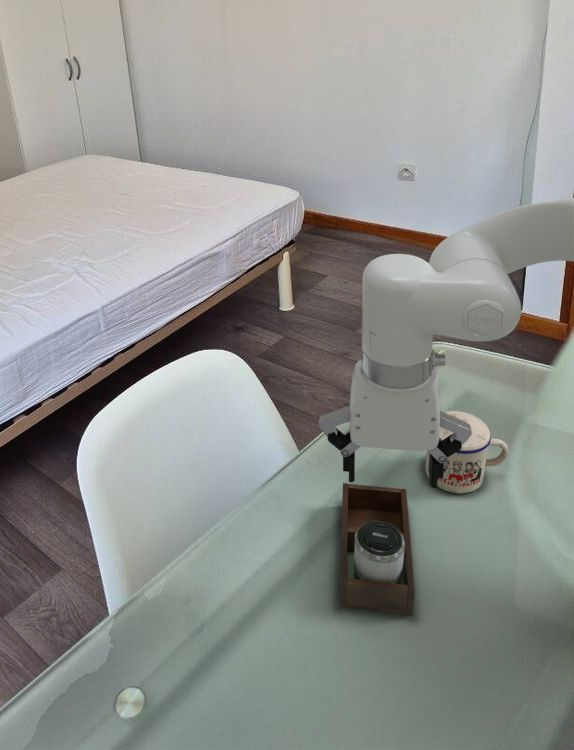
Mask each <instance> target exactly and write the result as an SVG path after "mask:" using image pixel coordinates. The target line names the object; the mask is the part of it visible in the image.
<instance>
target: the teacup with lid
mask: <svg viewBox="0 0 574 750" xmlns="http://www.w3.org/2000/svg"><path fill="white" fill-rule="evenodd" d="M443 412H444V413H446V414H448V415H451V416H453V417H455V418H457V419H459V420H461V421H464V422H466V423H468V424H470V426H471V431H472V435H471V436H470V437H469V439H468V440H467V441H466V442H465V443H464V444H463V445H462V448H461V449H460V450H459V451H457V452H456V453H454V454H453V455H451V456H450V457H448V461H447V462H446V463H444V471H443V478H438V482H437V488H439V489H441V490H444V491H446V492H449V493H453V494H467V493H471V492H474V491H475V490H477V489H479V488H480V487H481V485H482V484H483V482H484V476H485V472H486V471H485V469H486V467H487V468H488V467H496V466H499V465H501V464H502V463H504V462H505V461H506V459H507V458H508V456H509V447H508V444H507V443H506V442H505V441H503V440H501V439H499V438H492V434H491V432H490V429H489V428H488V426H487V424H486V423H485V422H484V421H483V420H481V419H480V418H479V417H477V416H475V415H474V414H471V413H468V412H464V411H458V410H447V411H443ZM451 434H454V433H453V432H451V431H449V430H447V429H445V428H442V427H440V435H439V437H440V438H441V439H442V440H443V439H445V438H447V437H448V436H450V435H451ZM491 446H492V447H493V446H494V447H499V448H501V449H502V450H501V452H500V453H499V455H497V456H496V457H494V458H487V456H488V450H489V447H491ZM429 454H430V453H429V452H428V451H427V450H426V458H425V475H426V476H427V478H428V479H429V471H428V469H429Z"/></svg>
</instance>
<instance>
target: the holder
mask: <svg viewBox="0 0 574 750" xmlns="http://www.w3.org/2000/svg"><path fill="white" fill-rule="evenodd" d="M341 499H342V501H341V502H342V503H341V540H340V541H341V543H340V544H341V545H340V577H339V578H340V579H339V580H340V582H339V583H340V584H339V606H340V607H344V608H352V609H360V610H368V611H375V612H381V613H382V612H383V613H390V614H399V615H406V616H413V615H414V604H415V593H416V589H415V588H416V587H415V576H414V565H413V552H412V541H411V531H410V518H409V505H408V493H407V488H399V487H388V486H379V485H378V486H377V485H366V484H357V483H346V482H343V483H342V497H341ZM370 521H382V522H386V523H389V524H391V525H392V526H394V527H395V528H396V529H397V530H398V531H399V532H400V533H401V535H402V536H403V538H404V542H405V549H404V559H403V571H402V576H401V580H400V583H399V584H392V583H384V582H376V581H368V580H360V579H357V578H356V575H355V570H354V550H355V534H356V531H357V530H358V528H359V527H360V526H362V525H363V524H365V523H367V522H370Z"/></svg>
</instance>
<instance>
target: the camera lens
mask: <svg viewBox="0 0 574 750" xmlns="http://www.w3.org/2000/svg"><path fill="white" fill-rule="evenodd" d="M404 549H405V542H404V538H403V536H402V535H401V533H400V532H399V531H398V530H397V529H396V528H395V527H394V526H392V525H391V524H389V523H386V522H382V521H370V522H367V523H365V524H363V525H362V526H360V527H359V528H358V530H357V531H356V534H355V550H354V570H355V575H356V578H357V579H360V580H368V581H376V582H384V583H392V584H399V583H400V580H401V576H402V571H403V559H404Z"/></svg>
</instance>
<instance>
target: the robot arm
mask: <svg viewBox="0 0 574 750" xmlns="http://www.w3.org/2000/svg"><path fill="white" fill-rule="evenodd" d="M547 262H548V263H549V262H574V197H570V198H569V197H568V198H562V199H556V200H549V201H543V202H535V203H529V204H525V205H520V206H516V207H512V208H509V209H505V210H503V211H500V212H498V213H495V214H492V215H490V216H487V217H485V218H483V219H481V220H479V221H476V222H475V223H472V224H470V225H468V226H465V227H463V228H461V229H459V230H458V231H456V232H454V233H452V234H450V235H449V236H448V237H446V238H445V239H443V240H442V241H441V242H440V243H439V244H438V245H437V246H436V247H435V249H434V250H433V251H432V253H431V256H430V258H429V261H426V260H425V259H423V258H421V257H418V256H416V255H413V254H408V253H407V254H406V253H390V254H384V255H381V256H378V257H376V258H374V259H372V260H370V261H369V262H368V264H367V265H366V266H365V268H364V270H363V273H362V285H361V286H362V287H361V288H362V289H361V291H362V295H361V296H362V297H361V299H362V300H361V314H362V315H361V359H360V360H358V361H357V362H356V363H355V365H354V368H353V373H352V377H351V383H350V394H349V395H350V396H349V405H348V406H346V407H342V408H340V409H338V410H334V411H331V412H329V413H326V414H322V415H320V417H319V419H318V422H319V424H318V426H319V429H320V430H321V431H322V433H323V434H324V436H326V438H327V441H328V443H330V444H331V445H332V446H333V447H334V448H336V449H337V450H338V451H339V452H340V453H339V454H340V455H341V456H342V472H345V473H346V472H347V473H348V483H354V482H356V481H355V480H356V479H355V477H356V474H355V473H356V470H355V469H356V451H357V450H358V449H359V448H361V447H363V448H371V449H384V450H401V451H423V452H424V451H426V452H427V451H428V452H429V453H430V454H429V469H428V471H429V478H428V479H429V486H430V488H432V489H435V490H436V489H438V486H437V482H438V478H443V471H444V463H446V462H447V461H448V457H450V456H451V455H453V454H454V453H456V452H457V451H459V450H460V449H461V448H462V445H463V444H464V443H465V442H466V441H467V440H468V439H469V437H470V436H471V435H472V431H471V426H470V424H468V423H466V422H464V421H461V420H459V419H457V418H455V417H453V416H451V415H448V414H446V413H444V412H445V411H442V410H440V409H441V406H440V405H441V403H440V388H439V379H438V372H437V368H438V367H445V366H446V354H445V353H439V352H435V349H433V341H434V335H436V336H437V335H438V336H441V337H448V338H452V339H458V340H463V341H470V342H492V341H496V340H499V339H502V338H505V337H507V336H508V335H509V334H511V332H513V331H514V330H515V329H516V327H517V326H518V324H519V322H520V320H521V316H522V304H521V300H520V297H519V295H518V292H517V290H516V288H515V287H514V285H513V283H512V281H511V279H510V277H509V274H511V273H513V272H516V271H518V270H521V269H523V268H526V267H529V266H533V265H537V264H542V263H547ZM346 423H349V428H348V430H346V431H345V432H344V433H343V432H342V431H341V430H340V429H339V428H337V427H338V426H340V425H343V424H346ZM440 427H442V428H445V429H447V430H449V431H451V432H453V433H454V434H451V435H450V436H448V437H447V438H445V439H443V440H442V439H441V438H440V437H439V435H440Z"/></svg>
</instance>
